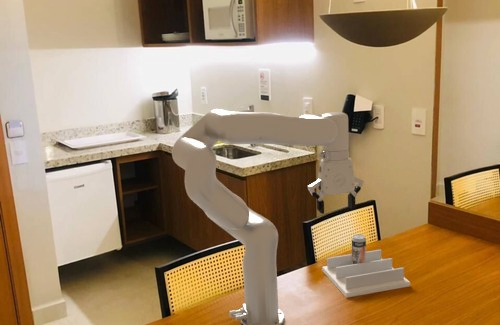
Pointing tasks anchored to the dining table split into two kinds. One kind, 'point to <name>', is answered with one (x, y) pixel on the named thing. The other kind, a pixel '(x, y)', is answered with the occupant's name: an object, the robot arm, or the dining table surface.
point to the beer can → (358, 249)
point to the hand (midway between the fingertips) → (336, 210)
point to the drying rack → (364, 274)
